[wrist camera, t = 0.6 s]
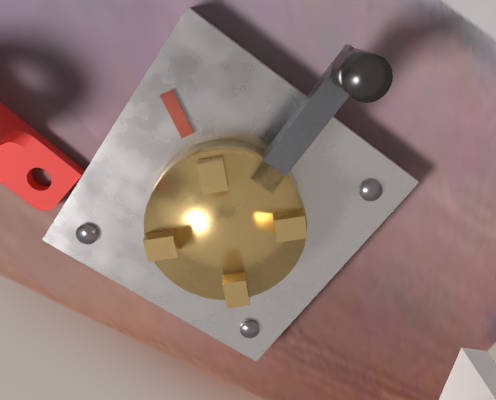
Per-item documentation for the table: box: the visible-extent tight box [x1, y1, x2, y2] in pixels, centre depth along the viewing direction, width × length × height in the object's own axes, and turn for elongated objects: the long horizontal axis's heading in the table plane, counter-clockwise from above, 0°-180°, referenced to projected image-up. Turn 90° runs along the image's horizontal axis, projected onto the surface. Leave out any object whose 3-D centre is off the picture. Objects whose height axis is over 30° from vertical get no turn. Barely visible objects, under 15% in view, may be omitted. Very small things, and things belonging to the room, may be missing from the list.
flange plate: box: [43, 7, 419, 361], centre depth 35 cm, size 20×20×2 cm
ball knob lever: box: [143, 44, 393, 309], centre depth 30 cm, size 20×11×7 cm, turn 144°
